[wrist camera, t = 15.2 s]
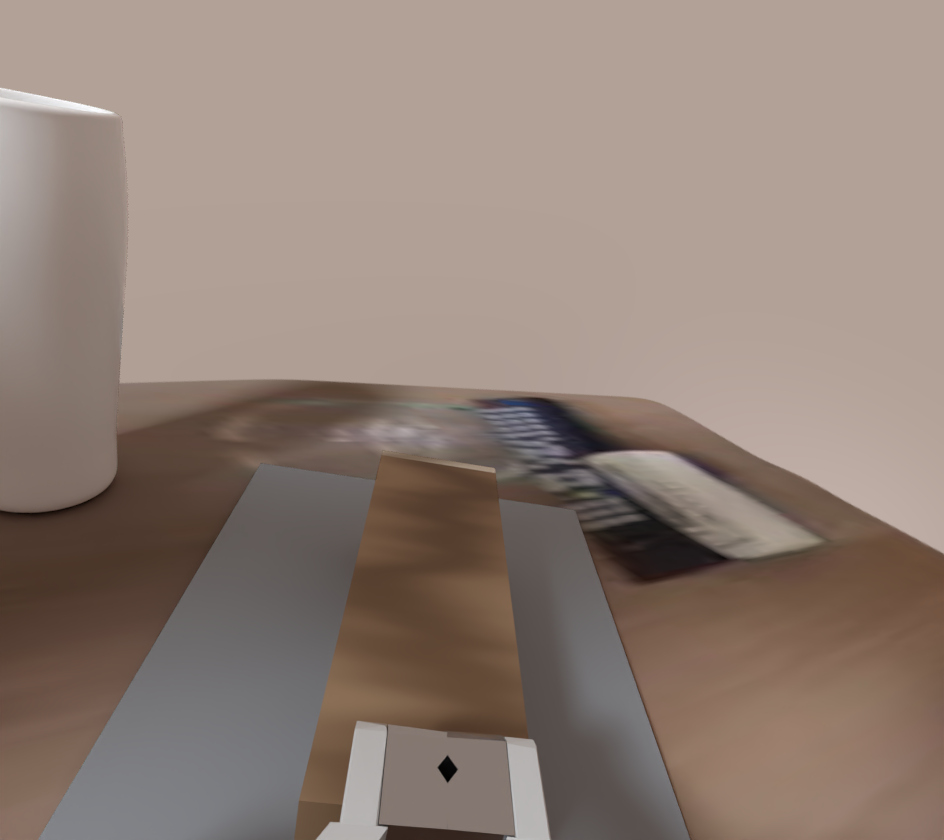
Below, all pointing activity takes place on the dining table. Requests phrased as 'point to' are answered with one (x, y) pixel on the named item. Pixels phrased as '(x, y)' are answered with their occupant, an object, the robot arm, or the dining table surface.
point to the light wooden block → (419, 624)
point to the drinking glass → (59, 299)
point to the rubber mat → (307, 670)
